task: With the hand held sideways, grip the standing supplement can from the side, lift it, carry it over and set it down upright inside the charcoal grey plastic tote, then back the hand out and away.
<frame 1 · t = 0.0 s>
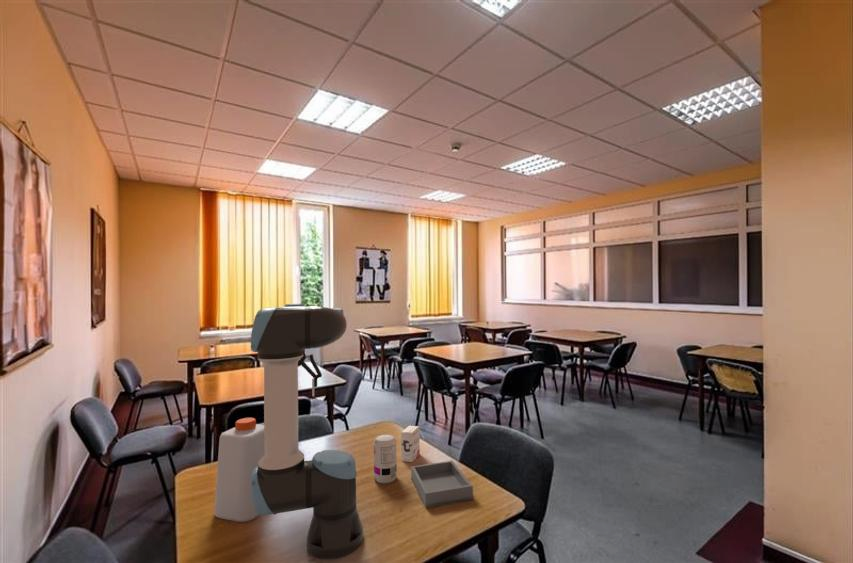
hand: (295, 397, 151), 28 cm above the table, tool pointing down, fingers open, 13 cm apart
tote: (440, 488, 133), on the table
ink box: (410, 458, 159), on the table
plastic bottle: (246, 509, 123), on the table
supplement can: (385, 479, 141), on the table
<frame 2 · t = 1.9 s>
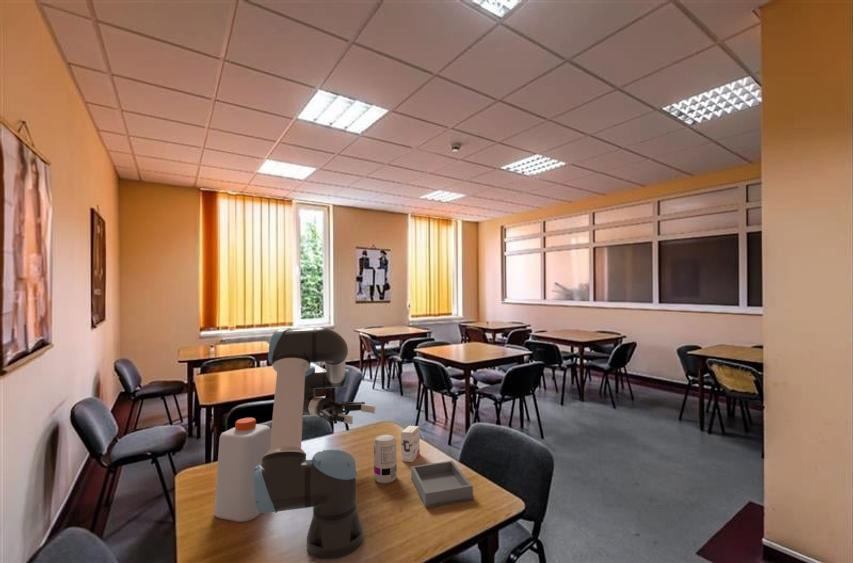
hand: (363, 414, 146), 22 cm above the table, tool horizontal, fingers open, 13 cm apart
nothing on the table moved.
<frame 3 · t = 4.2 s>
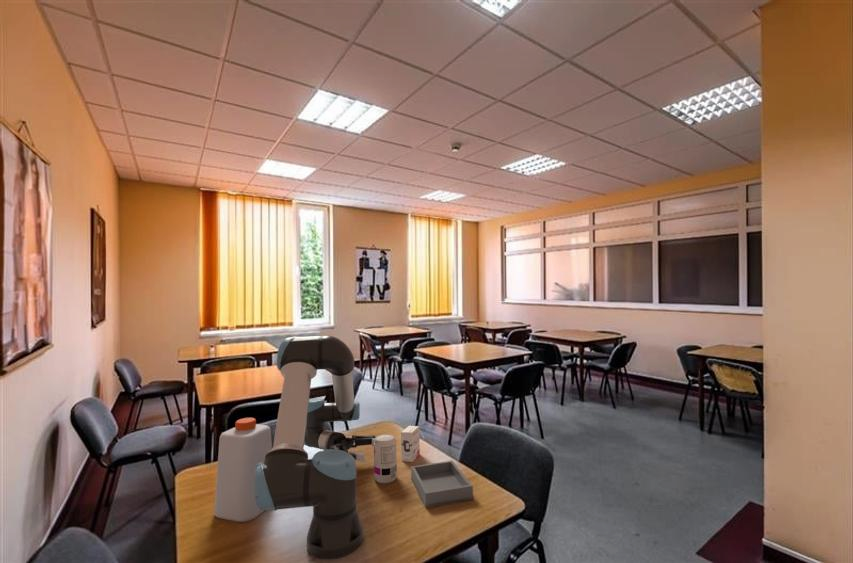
hand: (375, 451, 144), 9 cm above the table, tool horizontal, fingers open, 13 cm apart
nothing on the table moved.
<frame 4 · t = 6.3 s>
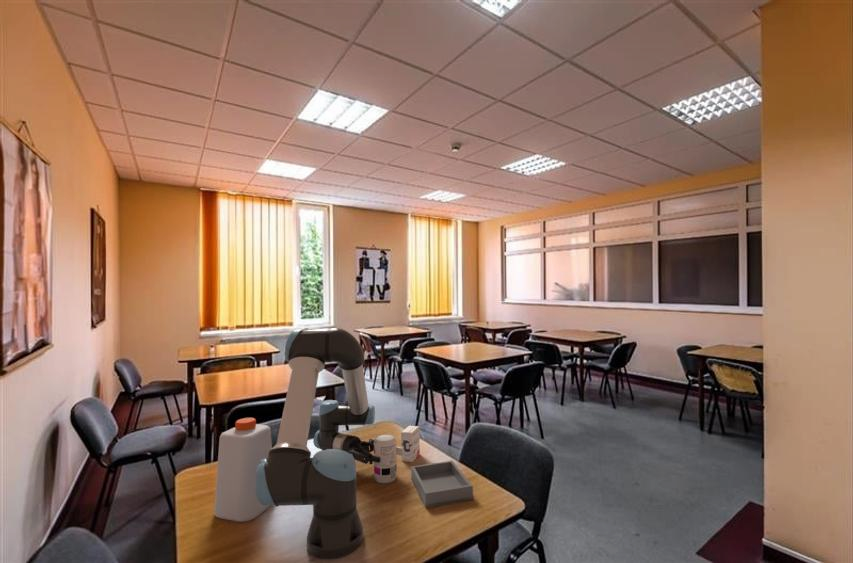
hand: (395, 456, 139), 9 cm above the table, tool horizontal, fingers closed on supplement can, 8 cm apart
supplement can: (385, 479, 141), on the table, touching gripper
everything else where it was.
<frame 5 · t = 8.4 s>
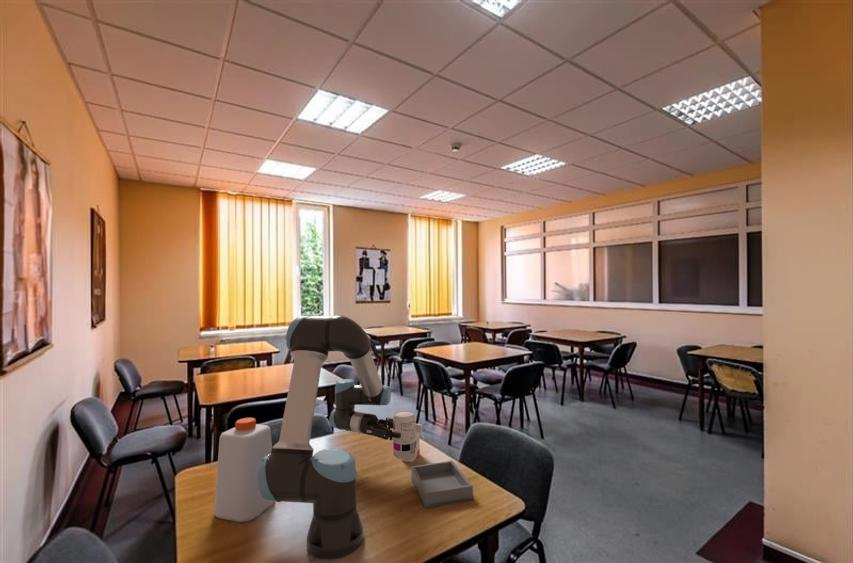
hand: (415, 432, 138), 18 cm above the table, tool horizontal, fingers closed on supplement can, 8 cm apart
supplement can: (404, 456, 140), point 8 cm above the table, touching gripper
everything else where it was.
when the fingers open (11 cm above the table, at t = 10.9 s): supplement can drops 1 cm, resting on tote.
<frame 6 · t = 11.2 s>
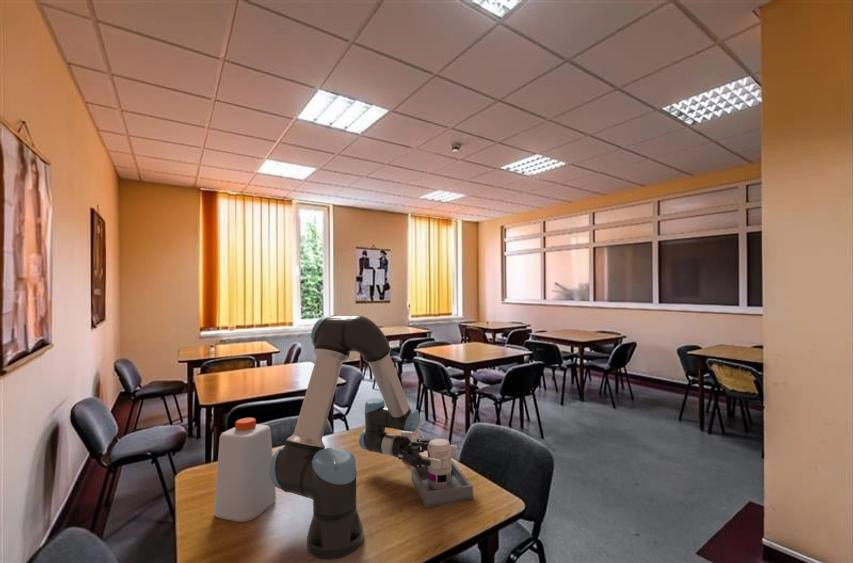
hand: (449, 457, 131), 11 cm above the table, tool horizontal, fingers open, 12 cm apart
supplement can: (440, 486, 133), point 1 cm above the table, touching tote
everything else where it was.
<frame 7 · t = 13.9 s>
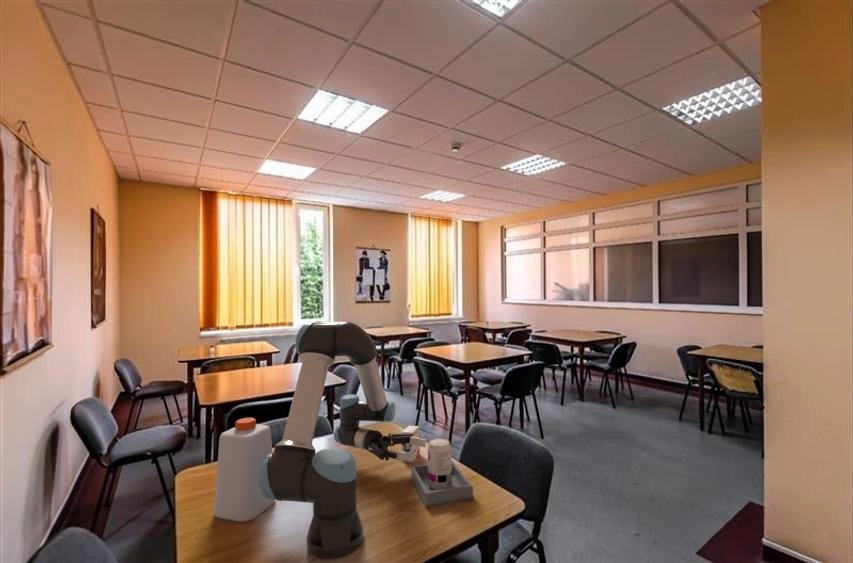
hand: (416, 449, 138), 12 cm above the table, tool horizontal, fingers open, 13 cm apart
nothing on the table moved.
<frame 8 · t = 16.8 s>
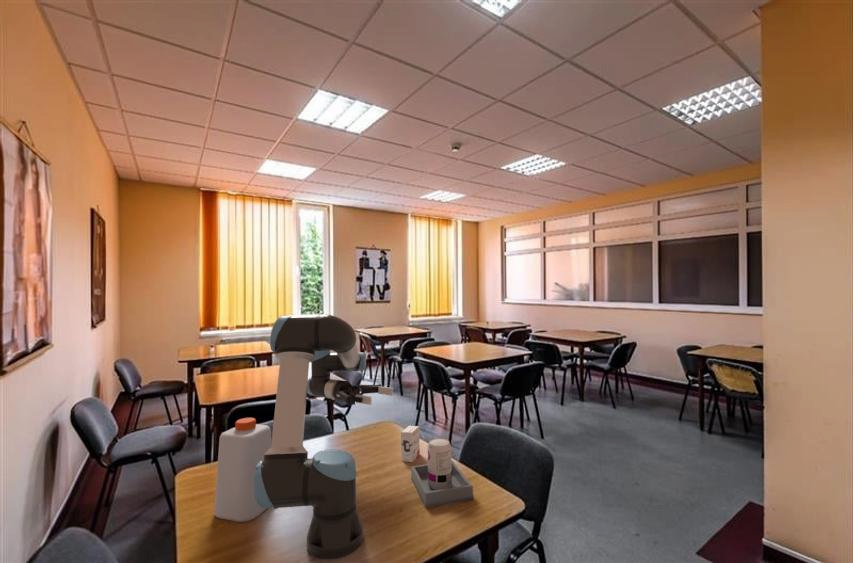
hand: (382, 396, 142), 30 cm above the table, tool horizontal, fingers open, 13 cm apart
nothing on the table moved.
at the end: supplement can inside the target area on the tote (0.1 cm from its centre), point 0.8 cm above the tote's base; supplement can tilted 0°; the gripper is holding nothing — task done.
